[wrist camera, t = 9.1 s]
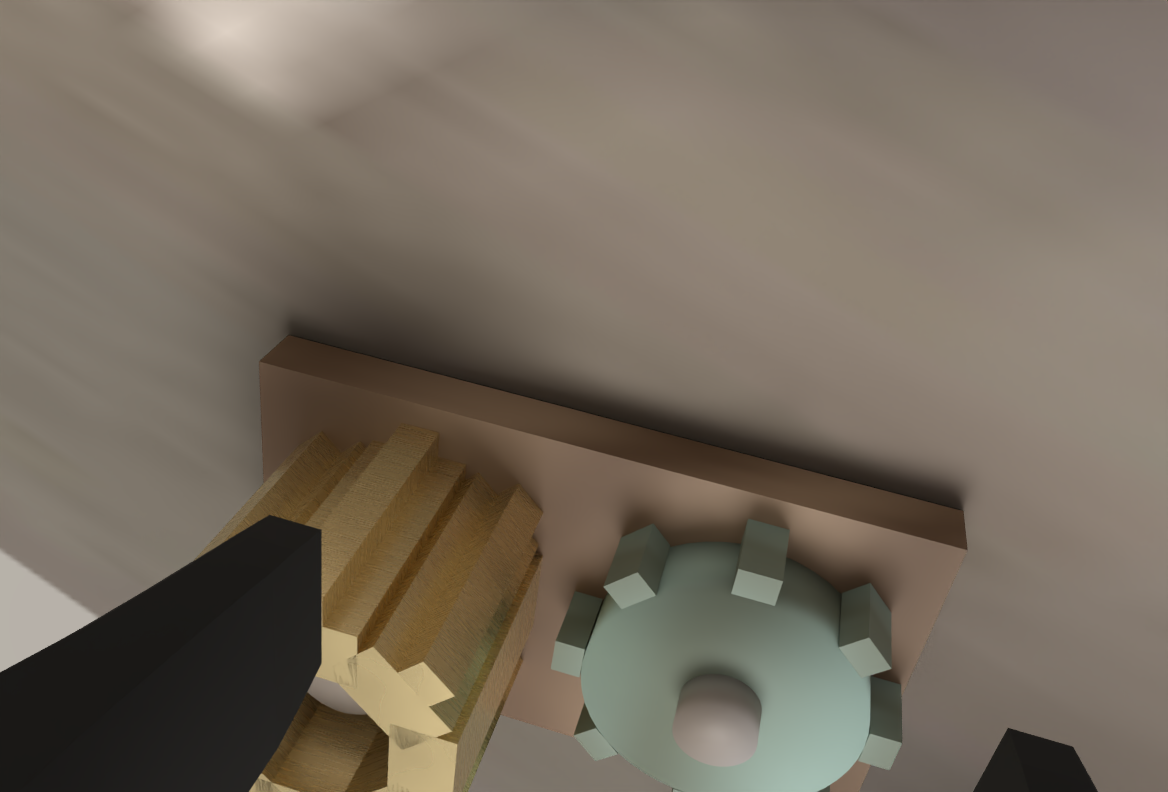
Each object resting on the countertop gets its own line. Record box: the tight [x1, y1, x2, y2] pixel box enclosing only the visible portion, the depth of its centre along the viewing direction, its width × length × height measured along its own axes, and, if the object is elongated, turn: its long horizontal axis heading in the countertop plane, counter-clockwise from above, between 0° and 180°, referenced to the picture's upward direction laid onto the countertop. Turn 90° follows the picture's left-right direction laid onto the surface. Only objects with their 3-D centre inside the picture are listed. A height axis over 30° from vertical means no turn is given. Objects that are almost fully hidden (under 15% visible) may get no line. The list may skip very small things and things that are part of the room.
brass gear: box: [195, 423, 543, 792], centre depth 20 cm, size 6×7×5 cm
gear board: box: [259, 335, 967, 792], centre depth 20 cm, size 14×8×5 cm, turn 82°
